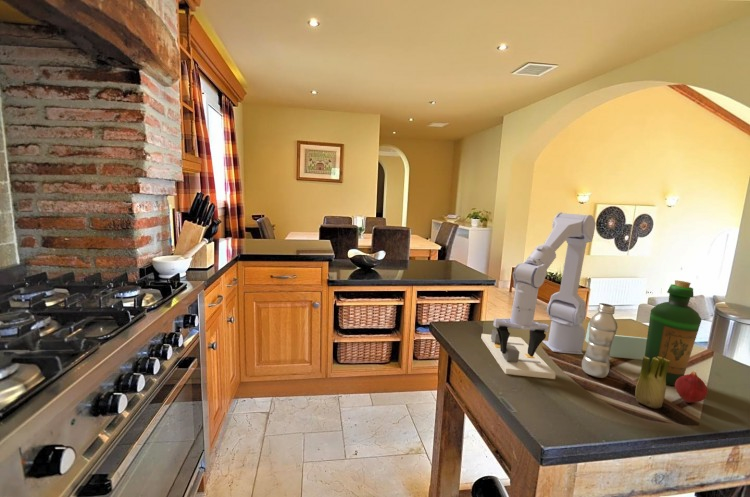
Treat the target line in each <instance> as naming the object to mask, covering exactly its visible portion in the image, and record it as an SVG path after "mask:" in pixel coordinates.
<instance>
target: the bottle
mask: <svg viewBox="0 0 750 497" xmlns="http://www.w3.org/2000/svg"><path fill="white" fill-rule="evenodd" d="M691 284H692V283H691V282H689V281H684V280H674V284H672V283H671V284H670V285H669V288H668V290H666V293H667V294H668V301H663V302H661V303H658V304H656V305H655V306H654V307H652V308H651V309H650V314H649V320H648V321H649V322H648V328H647V329H648V330H647V337H646V338H647V343H646V350H645V357H648V358H649V359H650V361H649V367H650V364H651V361H652V358H654V357H655V358H657V356H658V357H662V358H663V359H667V360H670V364H669V367H668V370H667V374H666V385H669V386H675V382H676V380H677V379H678V378H679V377H681V376H684V375H686V374H685V373H686V370H687V368H688V365H689V361H690V358H691V355H692V350H693V348H694V345H695V342H696V339H697V336H698V332H699V329H700V326H701V323H702V318H701V316H700V314H699V312H698V311H696V310H695V309H694V308H693V307H691V306H690V305H689V303H690V301H691V300H690V299H691V298H692V299H693V298H694V288H693V287H691ZM688 305H689V306H688ZM663 359H662V360H663Z"/></svg>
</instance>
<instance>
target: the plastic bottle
mask: <svg viewBox="0 0 750 497" xmlns="http://www.w3.org/2000/svg"><path fill="white" fill-rule="evenodd" d="M615 309H616V307H615V305H612V304H608V303H599V304H598V308H597V311H598V312H597V313H595V314H594V315H593V316H592V317H591V318H590V320H589V322H590V327H589V341H588V343H587V347H586V350H585V353H584V354H583V358H582V360H581V368H582V371H583V372H584V373H585V374H586V375H590V376H592V377H593V378H601V379H603V378H606V377H607V376H608V374H609V371H610V350H611V346H612V342H613V339H614V337H615V335H617V331H618V328H619V327H618V323H617V320H616V319H615V317H614V314H615Z"/></svg>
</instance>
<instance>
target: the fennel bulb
mask: <svg viewBox="0 0 750 497" xmlns="http://www.w3.org/2000/svg"><path fill="white" fill-rule="evenodd" d="M662 359H663V358H662V357H658V356H657V358H655V357H654V358H652V361H651V364H650V367H649V361H650V359H649V358H648V357H643V360H642V363H641V369H640V373H639V377H638V379H637V383H636V386H635V394H634V396H635V400H636V402H637V403H639V404H641V405H643V406H646V407H648V408H650V409H657V410H658V409H660V408H662V407H663V403H664V399H665V396H666V390H667V384H666V374H667V370H668V367H669V364H670V360H667V359H663V360H662Z"/></svg>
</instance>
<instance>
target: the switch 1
mask: <svg viewBox="0 0 750 497" xmlns="http://www.w3.org/2000/svg"><path fill="white" fill-rule="evenodd" d="M490 335H491V339H492V340H493V342H494V343H497V344H500V340H499V335H498V332H497V329H493V328H492V329H491V333H490Z"/></svg>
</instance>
